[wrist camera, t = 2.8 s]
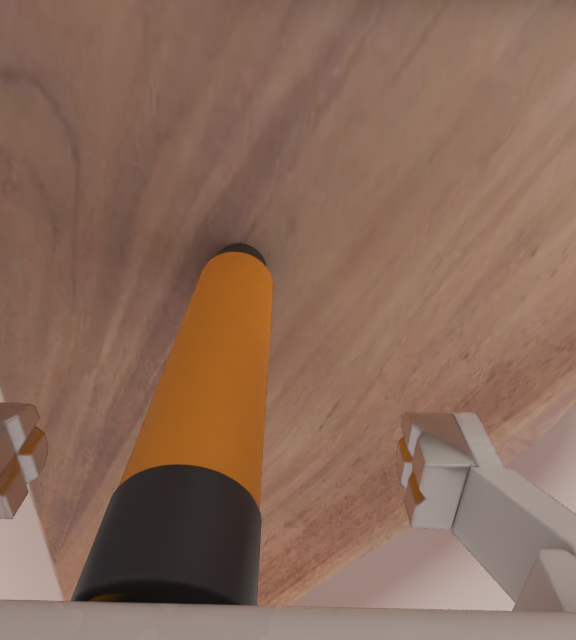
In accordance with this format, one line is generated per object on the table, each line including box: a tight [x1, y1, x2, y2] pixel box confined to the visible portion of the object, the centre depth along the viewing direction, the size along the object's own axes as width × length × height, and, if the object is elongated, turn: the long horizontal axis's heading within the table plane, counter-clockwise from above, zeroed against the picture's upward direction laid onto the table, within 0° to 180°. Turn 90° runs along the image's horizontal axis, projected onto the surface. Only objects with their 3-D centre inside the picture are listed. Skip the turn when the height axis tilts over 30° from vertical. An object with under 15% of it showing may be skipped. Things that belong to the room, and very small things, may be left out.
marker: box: [71, 244, 273, 605], centre depth 12 cm, size 3×3×13 cm
